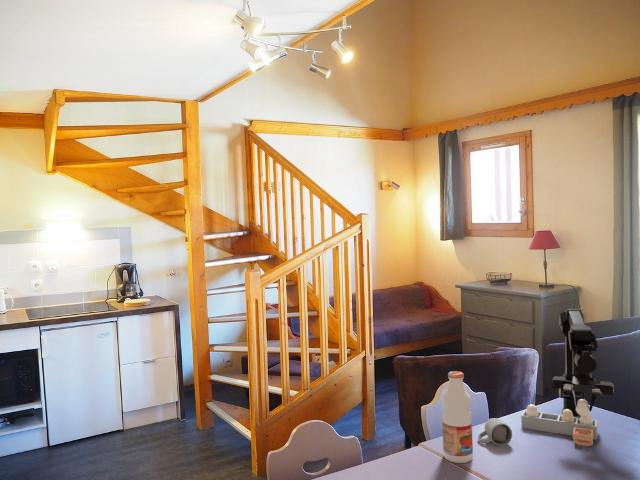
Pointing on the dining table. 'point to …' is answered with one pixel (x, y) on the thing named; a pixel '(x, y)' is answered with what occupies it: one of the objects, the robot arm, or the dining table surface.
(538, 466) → the dining table surface
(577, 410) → the egg
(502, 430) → the ceramic mug
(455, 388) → the fruit juice
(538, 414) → the egg carton
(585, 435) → the egg cup
